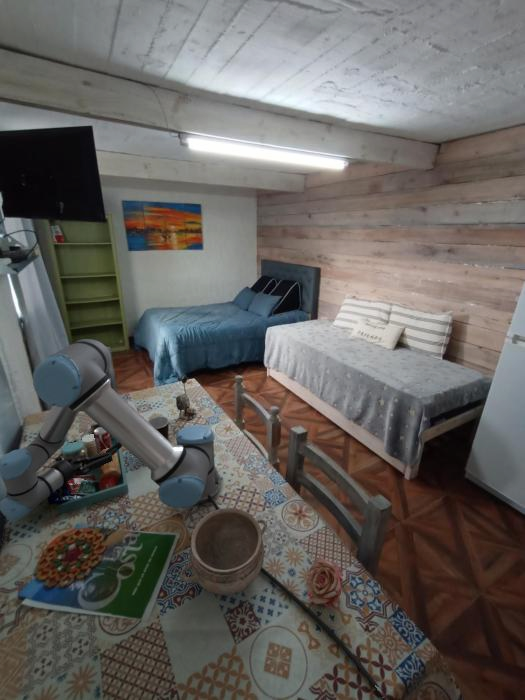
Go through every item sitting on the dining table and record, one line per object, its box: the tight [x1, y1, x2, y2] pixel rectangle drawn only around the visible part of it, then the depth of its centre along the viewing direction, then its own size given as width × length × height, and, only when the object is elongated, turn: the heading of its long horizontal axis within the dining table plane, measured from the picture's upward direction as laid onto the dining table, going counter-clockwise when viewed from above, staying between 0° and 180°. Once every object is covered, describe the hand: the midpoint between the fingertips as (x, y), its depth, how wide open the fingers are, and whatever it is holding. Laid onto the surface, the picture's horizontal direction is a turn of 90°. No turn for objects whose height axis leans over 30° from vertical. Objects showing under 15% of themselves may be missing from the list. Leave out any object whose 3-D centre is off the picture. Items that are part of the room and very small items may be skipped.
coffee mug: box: [147, 415, 170, 441], centre depth 131 cm, size 12×9×10 cm
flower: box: [306, 557, 344, 609], centre depth 77 cm, size 10×9×8 cm
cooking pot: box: [179, 507, 268, 596], centre depth 81 cm, size 25×19×12 cm
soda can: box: [94, 427, 113, 455], centre depth 121 cm, size 5×5×12 cm
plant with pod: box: [175, 374, 198, 421], centre depth 147 cm, size 8×11×20 cm
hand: (107, 439), depth 122 cm, fingers open, 13 cm apart
